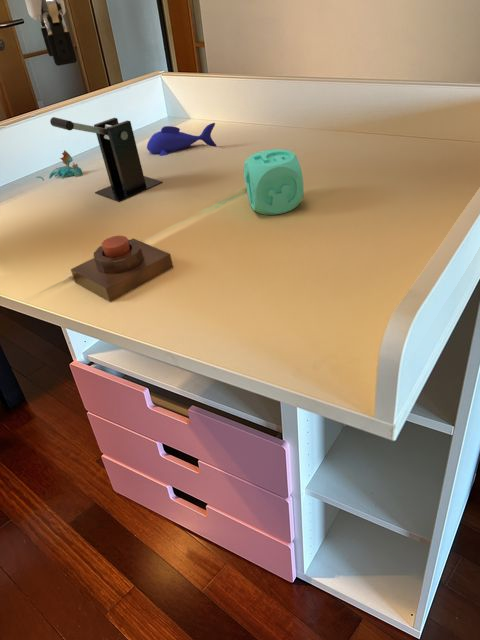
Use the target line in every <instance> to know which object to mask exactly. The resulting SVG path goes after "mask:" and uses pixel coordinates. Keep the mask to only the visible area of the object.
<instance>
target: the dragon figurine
mask: <svg viewBox="0 0 480 640" xmlns="http://www.w3.org/2000/svg"><path fill="white" fill-rule="evenodd" d="M61 155H62V157H60V158H59V159H60V160H61V161H62V164H64V166H60V167H56V168H54V169H53V170H52V171H51V172H50V173H49V175H48V179H49V180H50V179H52V178H53V176H54V178H56V177H57V176H60V177H61V179H64V178H68V177H77V178H79V177H81V176H82V175H83V171H82V168H81V167H79V165H78V163H75V162H73V161H74V159H73V157H72V156H71V155H70V153H69V152H68V151H66V150H65V149H64V150H63V152H62V153H61ZM71 162H73V163H72V165H71V166H70V164H71ZM35 178H40V179H41V180H42V182H44V181H45V180H44V177H42V176H36V177H35Z"/></svg>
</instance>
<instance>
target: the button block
mask: <svg viewBox="0 0 480 640" xmlns="http://www.w3.org/2000/svg"><path fill="white" fill-rule="evenodd" d="M128 242H129V246H130V252H129V253H127V254H125V255H123V256H120V257H116V258H107V257H106V256H105V254H104V251H103V248H102V245H100V246H98V247H97V248H96V249H95V250H94V251H93V257H92V258H91V259H89V260H87V261H85V262H82V263H79V265H76V266H75V267H73V268H70V272H71V274H72V277H73V280H74V283H75V284H77V285H79V286H81V287H82V288H84V289H86V290H88V291H89V292H91V293H93V294H94V295H97V296H98V297H101V298H102V299H104V300H106V301H108V302H109V303H112V302H113V301H115V300H117V299H118V298H120V297H123V296H124V295H126V294H128V293H129V292H131V291H133V290H135V289H137V288H138V287H140V286H142V285H144V284H145V283H147V282H149V281H151V280H152V279H155V278H156V277H158V276H160V275H162V274H163V273H165V272H167V271H169V270H171V269H172V268H174V264H173V260H172V256H171V253H170V252H167V251H165V250H162V249H159V248H157V247H154V246H152V245H150V244H148V243H145V242H143V241H140V240H139V239H136V238H134V237H133V238H131V239H128Z"/></svg>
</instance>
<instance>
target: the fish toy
mask: <svg viewBox="0 0 480 640" xmlns="http://www.w3.org/2000/svg"><path fill="white" fill-rule="evenodd" d="M215 126H216V123H215V122H212V123H209V124H208V125H206V126H205V127H204V129H202V131H201V133H200V135H194V134H189V133H186V132H183V131H180V130H181V128H179V127H177V126H173V125H172V126H171V125H166V126H163V127H161V129H160V130H159V131H157V132H154V133H153V135H151V137H150V138H149V140H148V142H147V145H146V149H147V151H148V152H149V153H150V154H151V155H152V154H153V155H159V157H164V156H168V155H169V153H172V152H177V151H181V150H184V149H186V148H187V149H188V148H191V147H192V145H193V144H195V143H196V142H198V141H202V142H204V143H205V144H206V145H207V146H210V147H217V143H216V142H215V141H214V140H213V138H212V136H211V135H212V134H211V133H212V131H213V129H214V128H215Z"/></svg>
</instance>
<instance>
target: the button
mask: <svg viewBox="0 0 480 640" xmlns="http://www.w3.org/2000/svg"><path fill="white" fill-rule="evenodd" d="M128 240H129V239H128V237H126V236H125V235H113V236H110V237H108V238H105V239H104V240H103V241H102V242H101V246H102V248H103V251H104V254H105V256H106V257H107V258H116V257H120V256H123V255H125V254H127V253H129V252H130V246H129V242H128Z"/></svg>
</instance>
